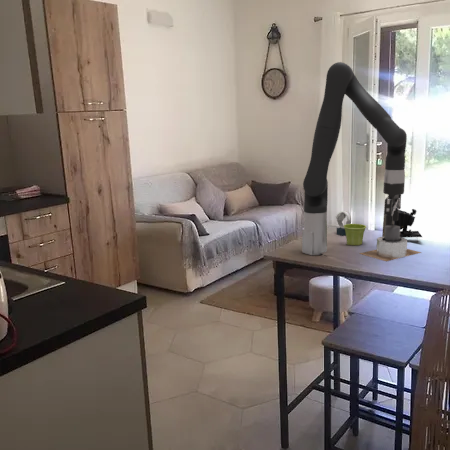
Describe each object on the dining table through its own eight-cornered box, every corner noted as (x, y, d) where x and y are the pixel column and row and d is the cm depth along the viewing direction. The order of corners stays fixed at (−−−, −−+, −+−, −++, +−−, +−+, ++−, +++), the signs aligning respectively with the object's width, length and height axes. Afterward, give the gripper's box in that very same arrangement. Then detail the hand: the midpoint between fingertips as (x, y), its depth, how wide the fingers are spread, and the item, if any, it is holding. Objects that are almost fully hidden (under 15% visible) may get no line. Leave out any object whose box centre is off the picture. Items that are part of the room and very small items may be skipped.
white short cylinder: (392, 259, 189) (393, 244, 187) (371, 253, 198) (371, 238, 196) (412, 254, 194) (412, 239, 193) (390, 249, 203) (390, 234, 202)
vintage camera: (422, 246, 211) (425, 199, 207) (383, 244, 214) (386, 198, 210) (418, 241, 220) (421, 196, 216) (381, 239, 223) (384, 195, 219)
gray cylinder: (392, 249, 192) (393, 229, 190) (381, 246, 196) (381, 226, 195) (402, 246, 194) (403, 226, 193) (391, 244, 199) (391, 224, 197)
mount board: (386, 263, 187) (386, 261, 187) (358, 255, 199) (358, 253, 199) (421, 254, 197) (422, 252, 196) (393, 247, 209) (393, 245, 208)
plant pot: (365, 243, 218) (366, 223, 216) (366, 248, 209) (366, 228, 207) (343, 242, 220) (343, 223, 218) (343, 248, 211) (343, 228, 209)
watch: (343, 232, 240) (343, 209, 237) (354, 235, 232) (354, 212, 230) (333, 233, 237) (334, 210, 235) (344, 236, 230) (344, 213, 228)
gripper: (389, 178, 197) (387, 218, 201) (378, 183, 186) (377, 225, 189) (408, 179, 193) (406, 220, 197) (399, 184, 182) (397, 227, 185)
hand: (392, 222), depth 193 cm, fingers open, 8 cm apart
